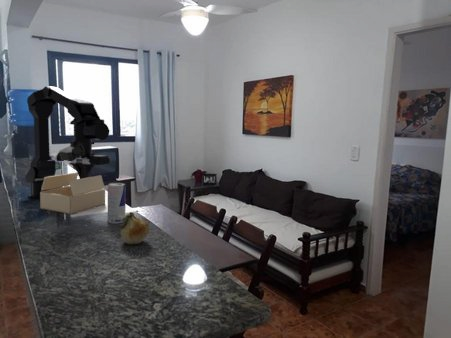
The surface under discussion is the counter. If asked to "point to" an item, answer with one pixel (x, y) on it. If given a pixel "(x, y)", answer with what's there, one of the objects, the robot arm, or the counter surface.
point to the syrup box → (57, 165)
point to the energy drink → (116, 202)
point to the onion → (133, 229)
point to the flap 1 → (58, 181)
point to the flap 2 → (86, 184)
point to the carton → (71, 200)
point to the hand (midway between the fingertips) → (83, 182)
